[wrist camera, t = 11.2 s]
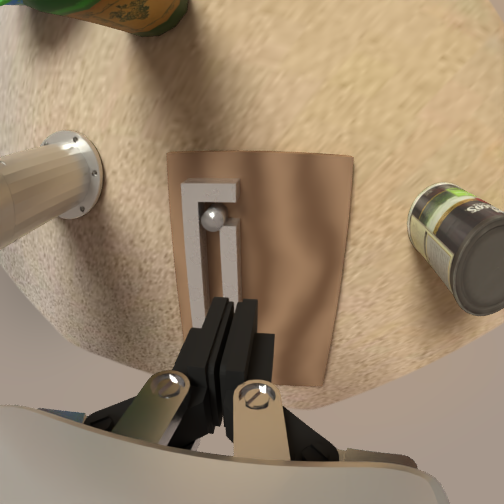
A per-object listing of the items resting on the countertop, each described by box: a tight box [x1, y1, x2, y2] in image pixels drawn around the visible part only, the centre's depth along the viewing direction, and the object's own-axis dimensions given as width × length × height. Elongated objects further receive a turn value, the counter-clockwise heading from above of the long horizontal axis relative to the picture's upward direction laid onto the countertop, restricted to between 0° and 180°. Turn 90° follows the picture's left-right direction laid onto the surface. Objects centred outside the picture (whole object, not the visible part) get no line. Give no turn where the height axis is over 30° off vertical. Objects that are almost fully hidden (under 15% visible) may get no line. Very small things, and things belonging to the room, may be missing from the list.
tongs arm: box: [201, 203, 242, 313], centre depth 40 cm, size 25×4×3 cm, turn 0°
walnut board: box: [167, 151, 354, 386], centre depth 42 cm, size 21×34×2 cm, turn 179°
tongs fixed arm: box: [181, 178, 240, 328], centre depth 40 cm, size 28×6×3 cm, turn 179°
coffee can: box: [407, 183, 504, 316], centre depth 30 cm, size 10×10×14 cm
